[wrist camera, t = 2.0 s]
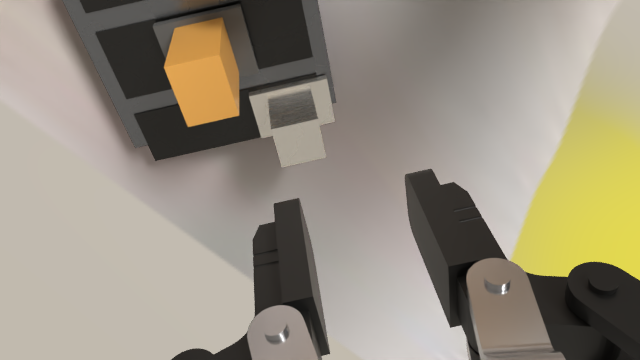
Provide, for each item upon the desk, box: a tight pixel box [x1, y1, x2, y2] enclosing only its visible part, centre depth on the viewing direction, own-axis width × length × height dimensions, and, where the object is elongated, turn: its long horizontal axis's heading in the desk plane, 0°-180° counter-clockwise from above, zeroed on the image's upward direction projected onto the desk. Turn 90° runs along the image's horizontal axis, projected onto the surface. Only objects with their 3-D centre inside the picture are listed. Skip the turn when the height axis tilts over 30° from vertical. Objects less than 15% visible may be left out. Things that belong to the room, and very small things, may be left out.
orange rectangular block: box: [153, 4, 259, 127], centre depth 24 cm, size 4×4×5 cm
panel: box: [62, 0, 336, 167], centre depth 26 cm, size 12×12×6 cm
